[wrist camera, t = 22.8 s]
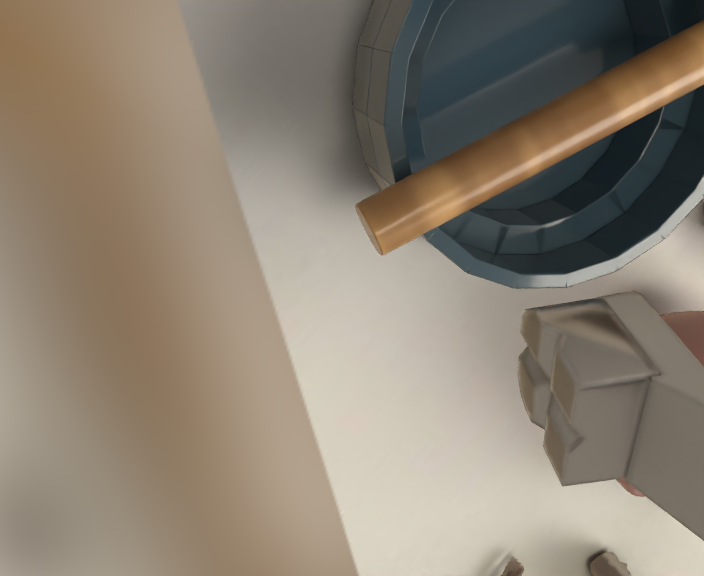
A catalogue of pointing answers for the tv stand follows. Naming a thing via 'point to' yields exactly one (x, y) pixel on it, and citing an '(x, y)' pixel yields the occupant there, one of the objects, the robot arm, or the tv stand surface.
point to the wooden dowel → (534, 141)
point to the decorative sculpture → (604, 568)
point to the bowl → (517, 100)
